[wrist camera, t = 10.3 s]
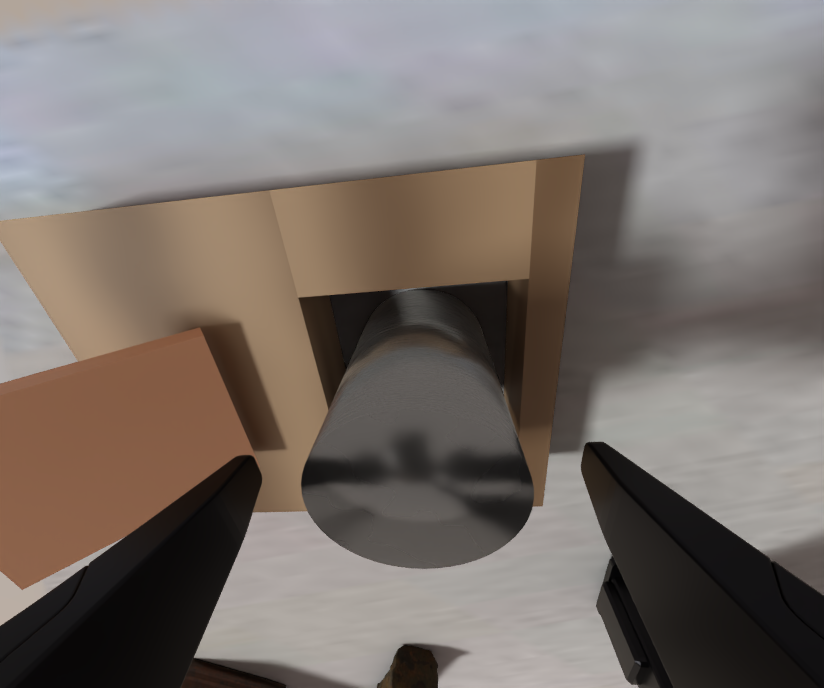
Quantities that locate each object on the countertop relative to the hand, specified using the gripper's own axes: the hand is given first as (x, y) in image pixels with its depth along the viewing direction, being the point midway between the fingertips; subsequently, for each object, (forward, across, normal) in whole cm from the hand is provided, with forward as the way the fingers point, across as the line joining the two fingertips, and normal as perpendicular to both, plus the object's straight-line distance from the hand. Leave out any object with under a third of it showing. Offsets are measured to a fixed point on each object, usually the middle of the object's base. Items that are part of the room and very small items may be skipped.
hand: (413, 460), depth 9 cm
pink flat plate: (+1, +10, 0) cm, 10 cm away
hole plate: (+7, +4, 0) cm, 8 cm away
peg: (+7, 0, 0) cm, 7 cm away
